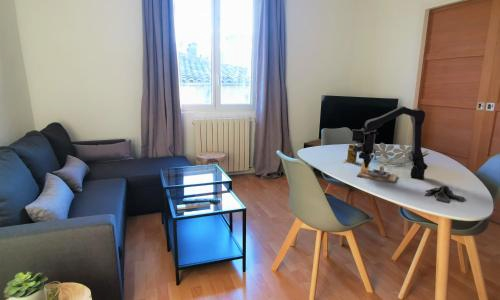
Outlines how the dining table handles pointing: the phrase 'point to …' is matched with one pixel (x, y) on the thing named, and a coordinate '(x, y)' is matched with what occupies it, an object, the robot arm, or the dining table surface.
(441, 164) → the dining table surface
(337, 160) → the dining table surface
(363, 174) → the keeper plate
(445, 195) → the cloth
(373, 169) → the link
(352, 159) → the condiment
